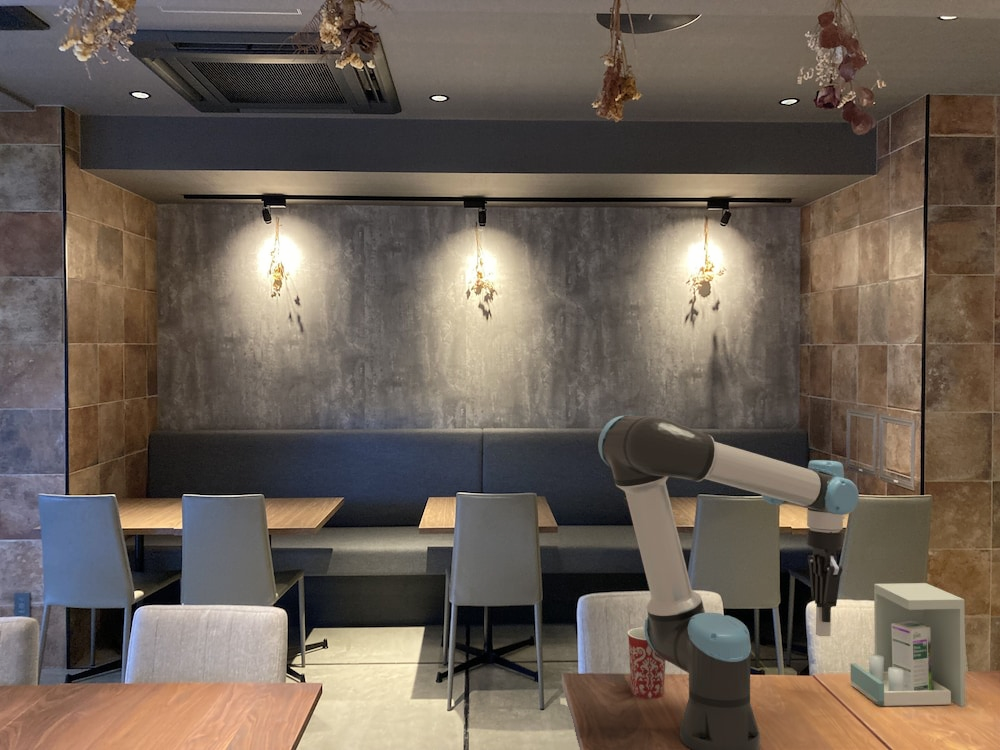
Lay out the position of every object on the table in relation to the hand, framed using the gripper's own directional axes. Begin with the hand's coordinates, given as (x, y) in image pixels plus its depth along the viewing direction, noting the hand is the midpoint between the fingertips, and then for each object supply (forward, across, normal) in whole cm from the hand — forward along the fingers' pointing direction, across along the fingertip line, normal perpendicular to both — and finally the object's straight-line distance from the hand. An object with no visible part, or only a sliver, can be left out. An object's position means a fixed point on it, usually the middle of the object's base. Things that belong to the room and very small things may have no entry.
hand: (823, 635), depth 189 cm
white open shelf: (+13, 0, -22) cm, 25 cm away
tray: (+13, -1, -17) cm, 22 cm away
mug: (+15, +5, +38) cm, 41 cm away
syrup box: (+12, -1, -20) cm, 23 cm away
